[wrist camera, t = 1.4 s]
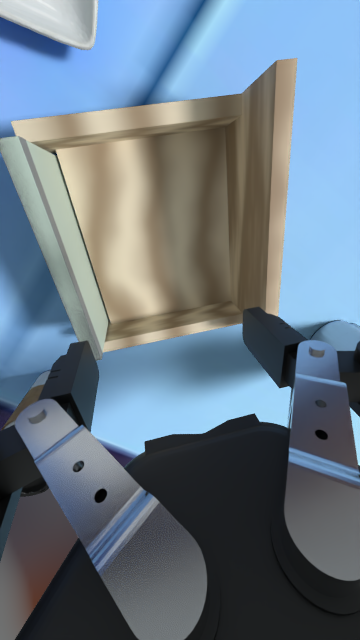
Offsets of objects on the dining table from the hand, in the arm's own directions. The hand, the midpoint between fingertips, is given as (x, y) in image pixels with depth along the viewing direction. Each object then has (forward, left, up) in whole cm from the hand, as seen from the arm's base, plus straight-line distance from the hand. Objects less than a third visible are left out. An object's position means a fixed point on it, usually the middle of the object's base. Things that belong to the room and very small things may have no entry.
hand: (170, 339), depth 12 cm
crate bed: (-1, -1, -23) cm, 23 cm away
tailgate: (+9, -1, -22) cm, 24 cm away
